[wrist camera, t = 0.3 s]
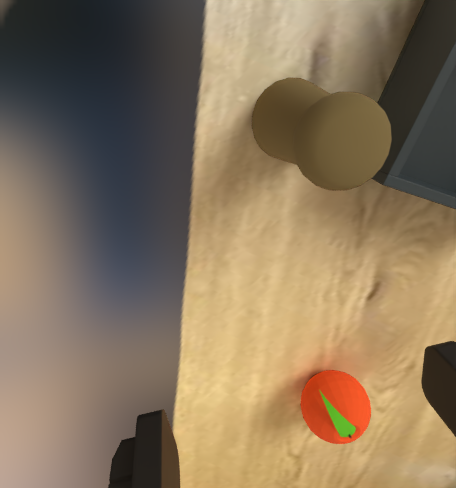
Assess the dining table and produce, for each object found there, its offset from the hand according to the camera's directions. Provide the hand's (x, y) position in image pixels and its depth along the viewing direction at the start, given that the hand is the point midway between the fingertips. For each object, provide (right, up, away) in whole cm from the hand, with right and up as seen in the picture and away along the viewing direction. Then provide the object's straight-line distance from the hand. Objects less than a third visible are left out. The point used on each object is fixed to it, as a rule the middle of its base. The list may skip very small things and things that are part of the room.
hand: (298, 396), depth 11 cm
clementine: (+8, -10, +30) cm, 33 cm away
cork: (+3, +14, +18) cm, 23 cm away
